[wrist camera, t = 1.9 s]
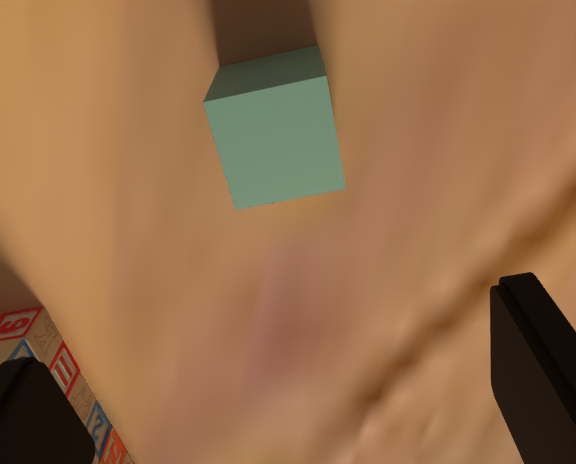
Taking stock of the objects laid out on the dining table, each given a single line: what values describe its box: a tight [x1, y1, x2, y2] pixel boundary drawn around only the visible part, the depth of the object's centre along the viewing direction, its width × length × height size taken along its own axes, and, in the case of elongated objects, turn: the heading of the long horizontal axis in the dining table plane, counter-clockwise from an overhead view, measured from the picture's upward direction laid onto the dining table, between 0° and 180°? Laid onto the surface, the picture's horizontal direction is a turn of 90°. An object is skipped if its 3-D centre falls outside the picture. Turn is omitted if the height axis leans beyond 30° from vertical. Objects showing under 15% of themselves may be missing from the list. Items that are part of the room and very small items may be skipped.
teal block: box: [203, 45, 346, 210], centre depth 24 cm, size 5×5×6 cm
